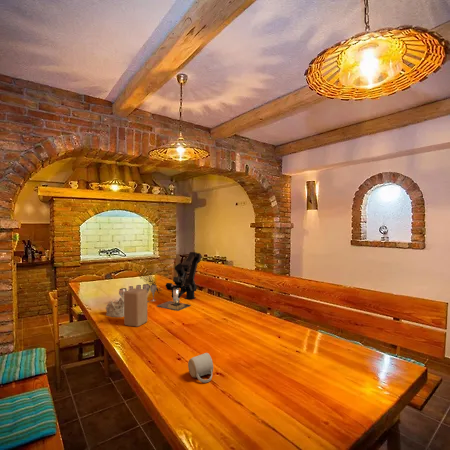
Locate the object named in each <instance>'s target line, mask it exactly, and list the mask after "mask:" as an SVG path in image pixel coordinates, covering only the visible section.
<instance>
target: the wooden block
mask: <svg viewBox="0 0 450 450" xmlns="http://www.w3.org/2000/svg"><path fill="white" fill-rule="evenodd" d="M147 301H148V293H147V290H146V289H143V288H141V289H136V287H133V289H131V290H127V291H125V292H124V317H123V318H124V319H123V321H124V322H123V323H124V325H125V326H129V327H136V328H138V327H140V326H141V325H143V324H146V323H147V322H148V302H147Z"/></svg>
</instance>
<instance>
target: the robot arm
mask: <svg viewBox="0 0 450 450" xmlns="http://www.w3.org/2000/svg"><path fill="white" fill-rule="evenodd" d="M201 260H202V254H201V253H199V252H196V251H190V252H189V254H188V256H187V258H186V259H185V261H183V262H182V263H181V262H179V263H178V264H176V265H175V267H174V270H175V272H176V274H177V275H178V276H174V277H173V278H172V282H173V283H172V282H166V283H165V287H166V290H168V291H171V298H172V299H173V288H174V287H179V296H178V298H179V299H181V296H183V295H184V294H185V295H186V296H185V297H184V299H185V300H190V301H191V300H194V299H197V297H196V296H195V292H197V285H196V282H195V276H196V274H197V273H196V272H197V268H198V265H199V263H200V262H201ZM187 277H188V278H187Z"/></svg>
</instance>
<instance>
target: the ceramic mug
mask: <svg viewBox="0 0 450 450" xmlns="http://www.w3.org/2000/svg"><path fill="white" fill-rule="evenodd" d="M187 366H188V367H187V368H188V372H189V374H190V376H191V377H192V378H197V380H198V381H199V382H200V383H203V384H206V383H210V382H211V381H212V378H213V373H214V363H213V359H212V356H211V355H210V353H208V352H205V353H202V354H199V355H197V356H193V357H191V358H190V359H188V363H187ZM207 375H210V376H209V378H208V379H203V378H201V377H202V376H207Z"/></svg>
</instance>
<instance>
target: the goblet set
mask: <svg viewBox="0 0 450 450" xmlns="http://www.w3.org/2000/svg"><path fill="white" fill-rule="evenodd" d="M156 285H157V284H154V285H152V284H151V285H150V283H144V284H142V285H141V284H136V287H135V288H136V289H146V290H147V294H148V293H149V292H151V293H152V299H151V300H150V301H149V300H147V303H150V302H156V301H157V300H156V299H155V298H154V297H155V292H157V290H156V287H157V286H156ZM131 289H134V286H133V285H129V286H128V290H131ZM128 290H127V288H125V287H124V288H123V287H121V288H119V290H118V295H119V296H120V298H121V297H122V294H123V293H124V292H125V291H128Z"/></svg>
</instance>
